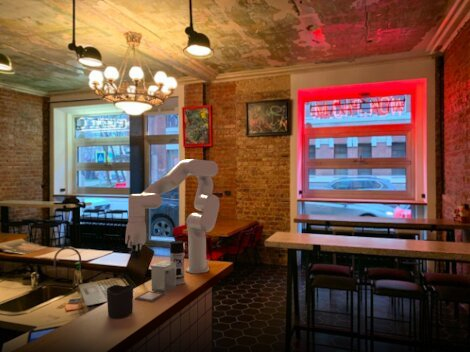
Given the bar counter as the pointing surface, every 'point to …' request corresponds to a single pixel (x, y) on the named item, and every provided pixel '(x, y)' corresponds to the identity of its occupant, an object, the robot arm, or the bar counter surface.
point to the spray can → (178, 260)
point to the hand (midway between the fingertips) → (136, 258)
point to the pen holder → (120, 301)
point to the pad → (150, 296)
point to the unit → (163, 276)
